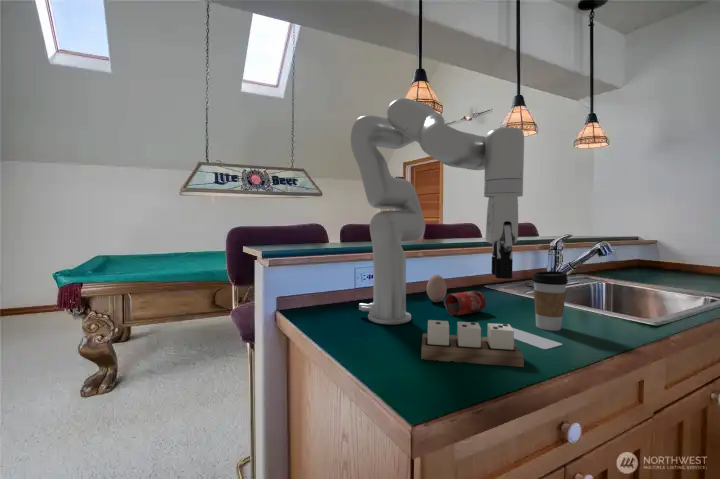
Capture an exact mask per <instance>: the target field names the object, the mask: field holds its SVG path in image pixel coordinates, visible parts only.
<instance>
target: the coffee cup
mask: <svg viewBox="0 0 720 479" xmlns="http://www.w3.org/2000/svg"><path fill="white" fill-rule="evenodd" d="M532 282H533V288H532V289H533V298H534V299H533V300H534V301H533V302H534V312H535V314H534V315H535V325H536V327H537V328H538V329H541V330H546V331H550V332H551V331H554V332H555V331H560V330H562V322H563V314H564V308H565V301H566V295H567V294H566V293H567V291H566V287H567V285H568V284H569V283H568V282H569V280H568V273H567V272H566V271H559V270H557V271H556V270H555V271H554V270H553V271H552V270H551V271H550V270H549V271H536V272H533V276H532Z"/></svg>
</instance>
